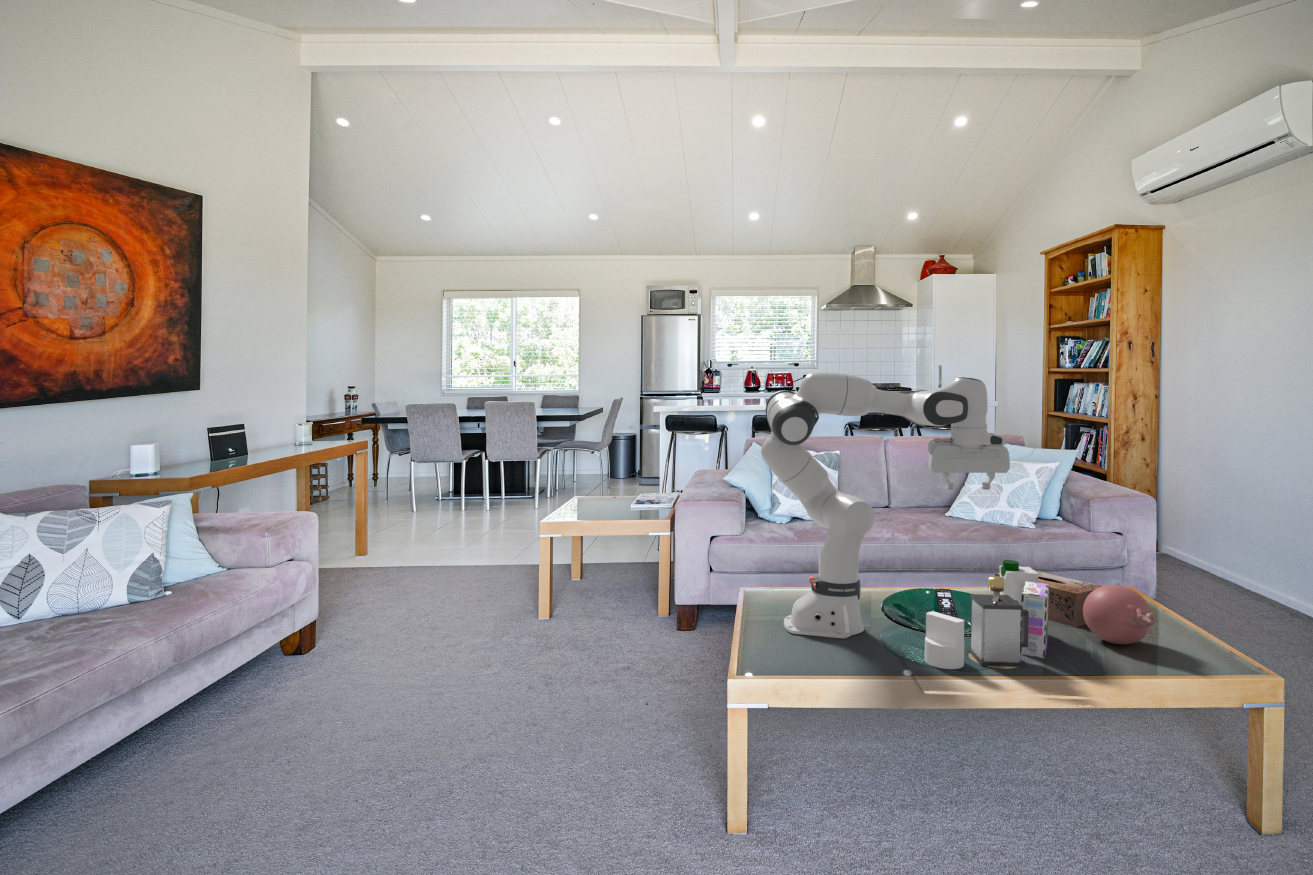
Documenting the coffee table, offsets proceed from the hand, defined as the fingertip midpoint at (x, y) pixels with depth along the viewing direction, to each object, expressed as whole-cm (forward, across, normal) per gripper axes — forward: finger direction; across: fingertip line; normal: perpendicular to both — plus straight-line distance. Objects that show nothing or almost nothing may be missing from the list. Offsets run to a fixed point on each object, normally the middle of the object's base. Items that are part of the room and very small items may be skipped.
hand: (967, 489), depth 184 cm
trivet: (+41, +2, -16) cm, 44 cm away
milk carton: (+41, +16, +6) cm, 45 cm away
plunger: (+37, +2, -16) cm, 40 cm away
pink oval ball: (+41, +39, -2) cm, 57 cm away
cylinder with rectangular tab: (+41, -11, -19) cm, 47 cm away
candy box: (+41, +15, -7) cm, 44 cm away
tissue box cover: (+42, +33, +27) cm, 60 cm away
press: (+41, +3, -16) cm, 44 cm away
